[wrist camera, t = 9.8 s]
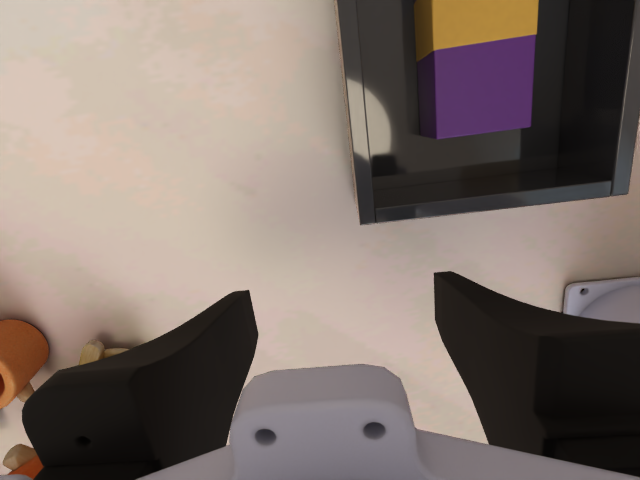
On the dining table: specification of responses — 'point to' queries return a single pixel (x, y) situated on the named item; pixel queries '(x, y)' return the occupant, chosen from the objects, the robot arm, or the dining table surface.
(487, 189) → the sink
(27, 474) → the toy tea set
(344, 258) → the dining table surface
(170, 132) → the dining table surface
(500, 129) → the candy bar
